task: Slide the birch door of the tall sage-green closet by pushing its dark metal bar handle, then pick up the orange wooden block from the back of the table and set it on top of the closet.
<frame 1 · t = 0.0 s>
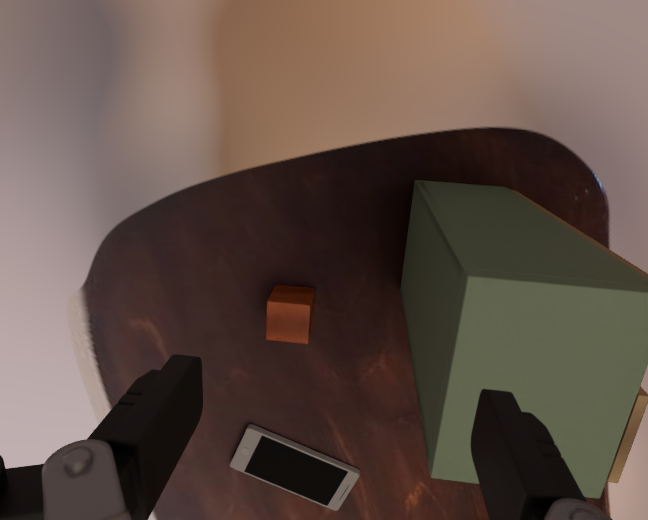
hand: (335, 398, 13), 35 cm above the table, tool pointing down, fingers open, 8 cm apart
smartphone: (295, 464, 59), on the table
door: (581, 336, 35), point 13 cm above the table, slide at 0.0 cm
closet: (450, 241, 47), on the table
block: (294, 304, 51), on the table
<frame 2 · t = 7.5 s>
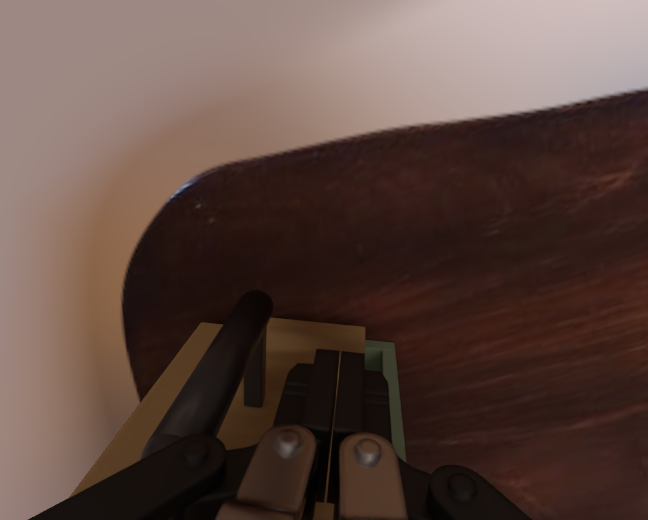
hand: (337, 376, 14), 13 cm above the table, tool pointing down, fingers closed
door: (280, 426, 15), point 13 cm above the table, slide at 1.8 cm, touching gripper
closet: (295, 392, 30), on the table
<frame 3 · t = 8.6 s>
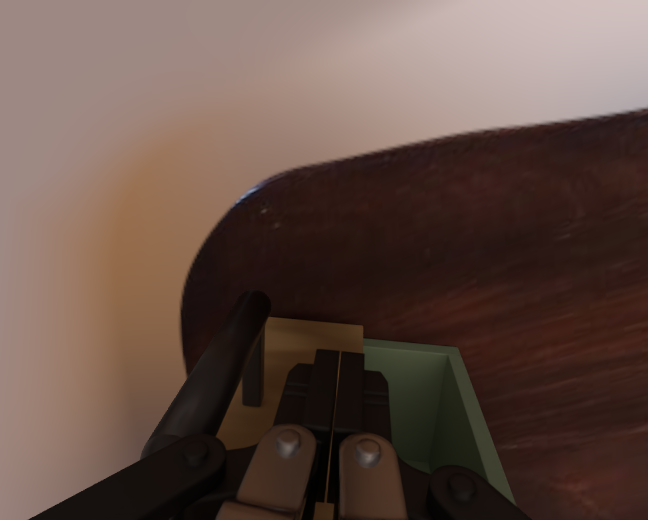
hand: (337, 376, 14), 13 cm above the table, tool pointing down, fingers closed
door: (279, 425, 15), point 13 cm above the table, slide at 5.9 cm, touching gripper
closet: (354, 397, 30), on the table
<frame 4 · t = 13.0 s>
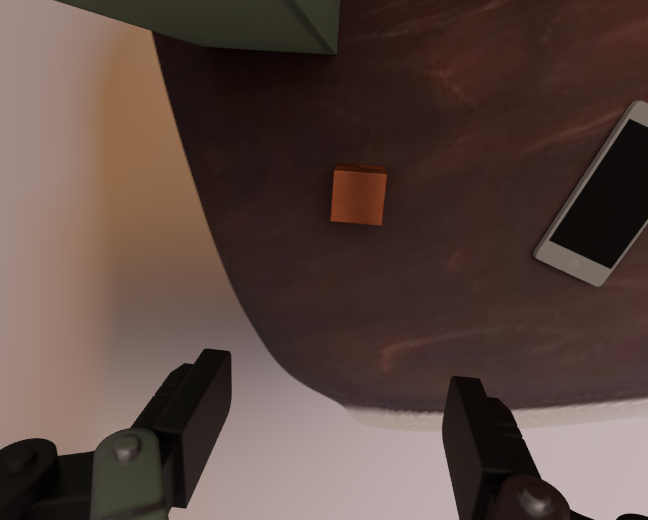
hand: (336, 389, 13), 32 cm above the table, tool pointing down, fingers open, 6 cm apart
smartphone: (612, 198, 41), on the table
block: (359, 188, 43), on the table
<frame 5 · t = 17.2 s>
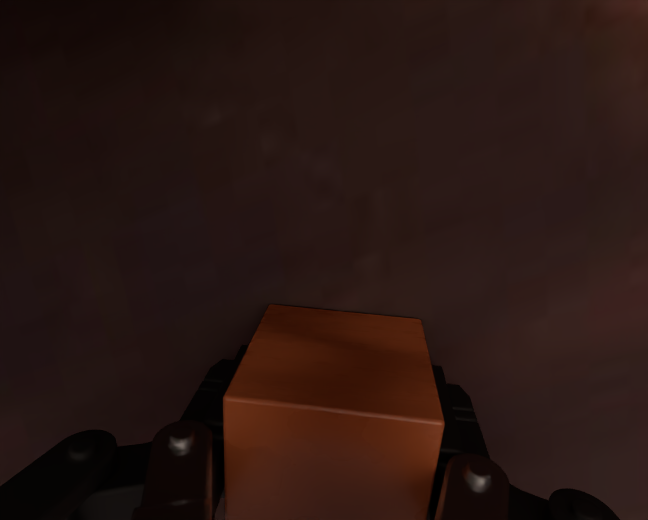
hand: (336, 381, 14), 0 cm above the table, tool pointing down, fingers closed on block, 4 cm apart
block: (338, 375, 14), on the table, touching gripper
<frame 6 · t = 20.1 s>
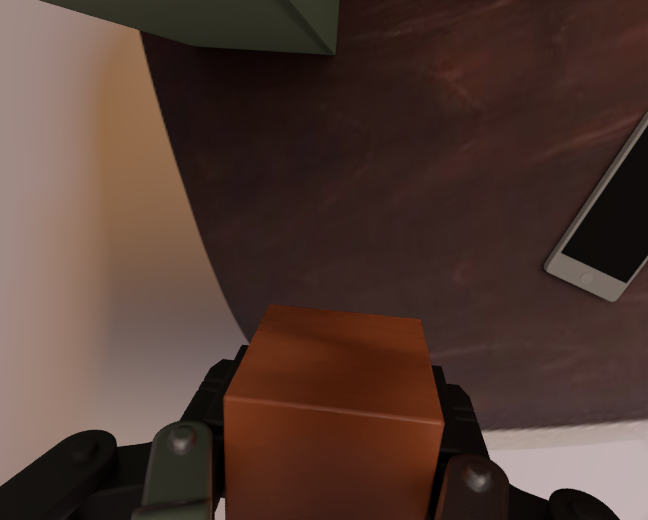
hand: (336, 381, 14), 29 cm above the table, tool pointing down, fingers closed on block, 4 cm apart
smartphone: (628, 208, 39), on the table
block: (338, 375, 14), point 28 cm above the table, touching gripper
when the fingers open (26 cm above the table, at t = 23.2 s): block stays where it is, resting on closet.
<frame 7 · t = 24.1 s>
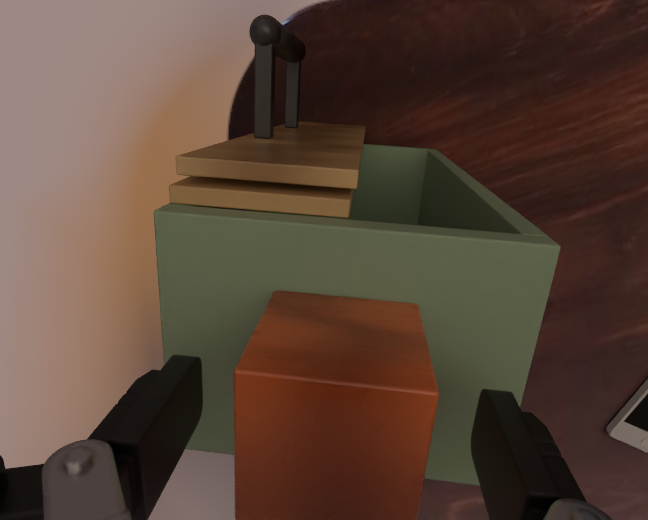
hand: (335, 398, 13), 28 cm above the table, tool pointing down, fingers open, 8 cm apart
door: (314, 90, 24), point 13 cm above the table, slide at 5.8 cm
closet: (358, 197, 39), on the table
block: (340, 358, 15), point 26 cm above the table, touching closet
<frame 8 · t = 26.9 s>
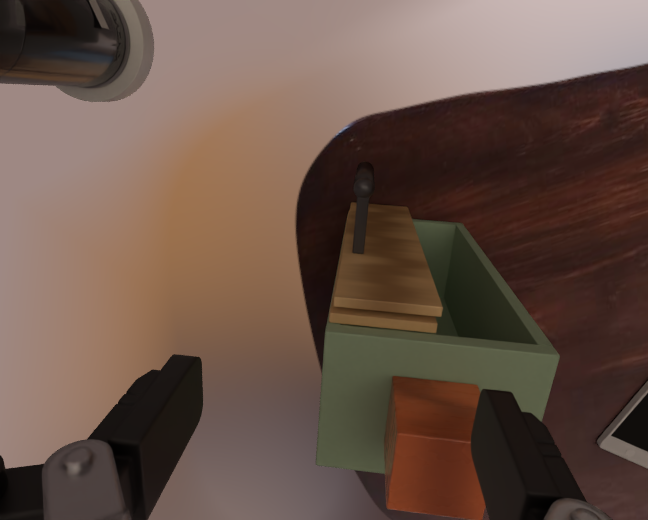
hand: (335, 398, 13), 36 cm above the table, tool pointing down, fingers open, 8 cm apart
door: (385, 208, 34), point 13 cm above the table, slide at 5.8 cm
closet: (399, 258, 49), on the table
block: (428, 414, 25), point 26 cm above the table, touching closet
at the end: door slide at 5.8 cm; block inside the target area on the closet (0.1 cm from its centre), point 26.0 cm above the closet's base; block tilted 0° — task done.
